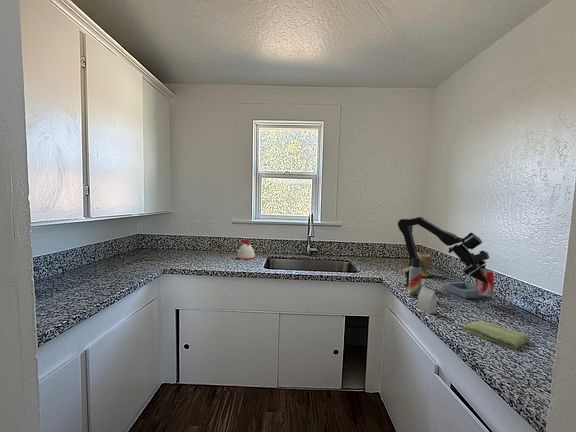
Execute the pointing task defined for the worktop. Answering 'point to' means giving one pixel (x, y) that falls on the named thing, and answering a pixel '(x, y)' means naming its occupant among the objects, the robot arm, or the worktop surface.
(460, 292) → the bin
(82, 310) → the worktop surface
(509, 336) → the washcloth
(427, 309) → the tea bag
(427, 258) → the stone cup
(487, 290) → the soda can
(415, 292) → the lotion bottle
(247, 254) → the white rounded cone
